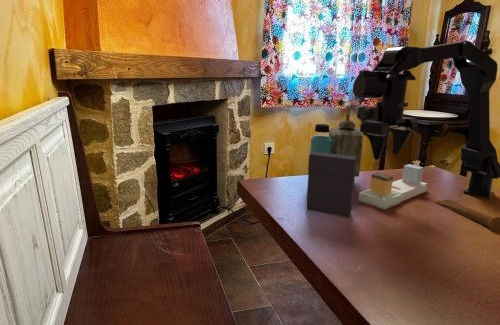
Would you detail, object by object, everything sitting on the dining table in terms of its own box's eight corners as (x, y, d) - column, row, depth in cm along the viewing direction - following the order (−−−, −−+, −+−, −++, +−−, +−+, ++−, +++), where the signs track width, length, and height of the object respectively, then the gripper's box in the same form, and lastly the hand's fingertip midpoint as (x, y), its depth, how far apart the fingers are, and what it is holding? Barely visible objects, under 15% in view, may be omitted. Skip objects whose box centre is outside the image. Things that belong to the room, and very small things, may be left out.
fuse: (405, 186, 111) (408, 164, 109) (419, 190, 108) (423, 167, 106) (400, 188, 109) (403, 165, 107) (415, 192, 106) (418, 169, 104)
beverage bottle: (332, 188, 108) (337, 123, 103) (324, 194, 103) (329, 126, 98) (312, 184, 112) (316, 121, 106) (303, 190, 106) (307, 124, 101)
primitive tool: (432, 203, 99) (433, 191, 99) (448, 201, 101) (450, 190, 100) (491, 233, 81) (494, 219, 80) (510, 231, 83) (513, 217, 82)
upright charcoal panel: (351, 212, 90) (357, 155, 87) (348, 218, 87) (354, 159, 83) (309, 205, 95) (313, 150, 91) (305, 210, 91) (308, 154, 87)
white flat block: (404, 185, 113) (405, 177, 112) (426, 191, 108) (427, 183, 107) (378, 194, 104) (379, 186, 103) (400, 201, 99) (401, 193, 98)
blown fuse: (375, 196, 101) (378, 172, 99) (390, 201, 97) (393, 176, 95) (368, 199, 99) (371, 174, 97) (383, 203, 95) (387, 178, 93)
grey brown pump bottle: (357, 191, 106) (366, 107, 100) (327, 189, 108) (333, 106, 101) (352, 177, 120) (359, 103, 114) (325, 175, 122) (331, 102, 115)
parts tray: (374, 194, 104) (375, 186, 103) (400, 203, 98) (401, 194, 97) (358, 200, 99) (359, 192, 98) (384, 209, 93) (385, 200, 92)
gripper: (384, 94, 103) (378, 147, 107) (344, 97, 91) (339, 155, 95) (422, 97, 94) (414, 154, 98) (384, 100, 83) (376, 164, 87)
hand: (386, 157), depth 95 cm, fingers open, 9 cm apart
